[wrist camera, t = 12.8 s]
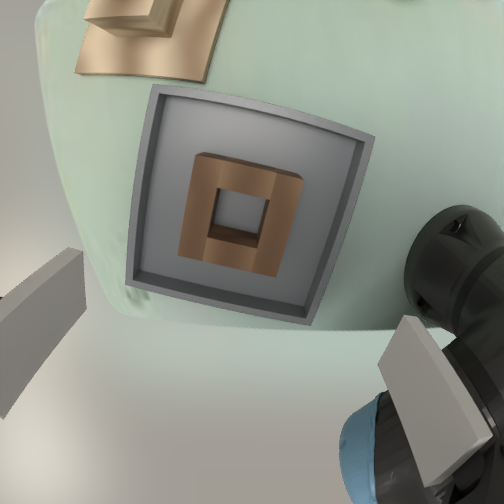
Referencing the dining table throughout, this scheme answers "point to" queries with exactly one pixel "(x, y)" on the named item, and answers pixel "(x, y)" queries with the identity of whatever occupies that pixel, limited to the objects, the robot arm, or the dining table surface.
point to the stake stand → (151, 38)
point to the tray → (242, 199)
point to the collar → (230, 239)
